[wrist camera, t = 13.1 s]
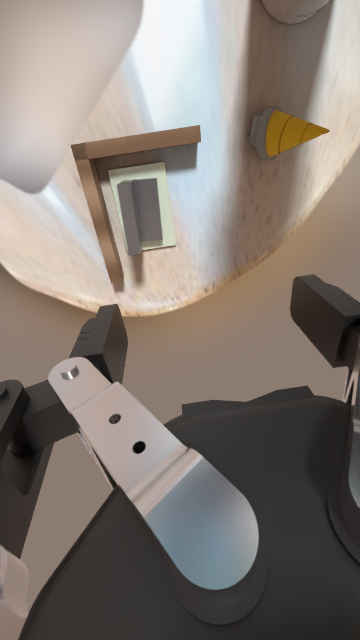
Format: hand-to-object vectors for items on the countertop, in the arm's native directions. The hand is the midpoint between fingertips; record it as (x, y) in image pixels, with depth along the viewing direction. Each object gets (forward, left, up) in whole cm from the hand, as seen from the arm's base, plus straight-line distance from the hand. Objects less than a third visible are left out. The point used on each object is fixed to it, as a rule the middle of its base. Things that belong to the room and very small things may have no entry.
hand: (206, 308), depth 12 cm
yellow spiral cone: (-7, +14, -30) cm, 34 cm away
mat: (0, -4, -30) cm, 30 cm away
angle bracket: (0, -4, -30) cm, 30 cm away
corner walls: (0, -3, -30) cm, 30 cm away
